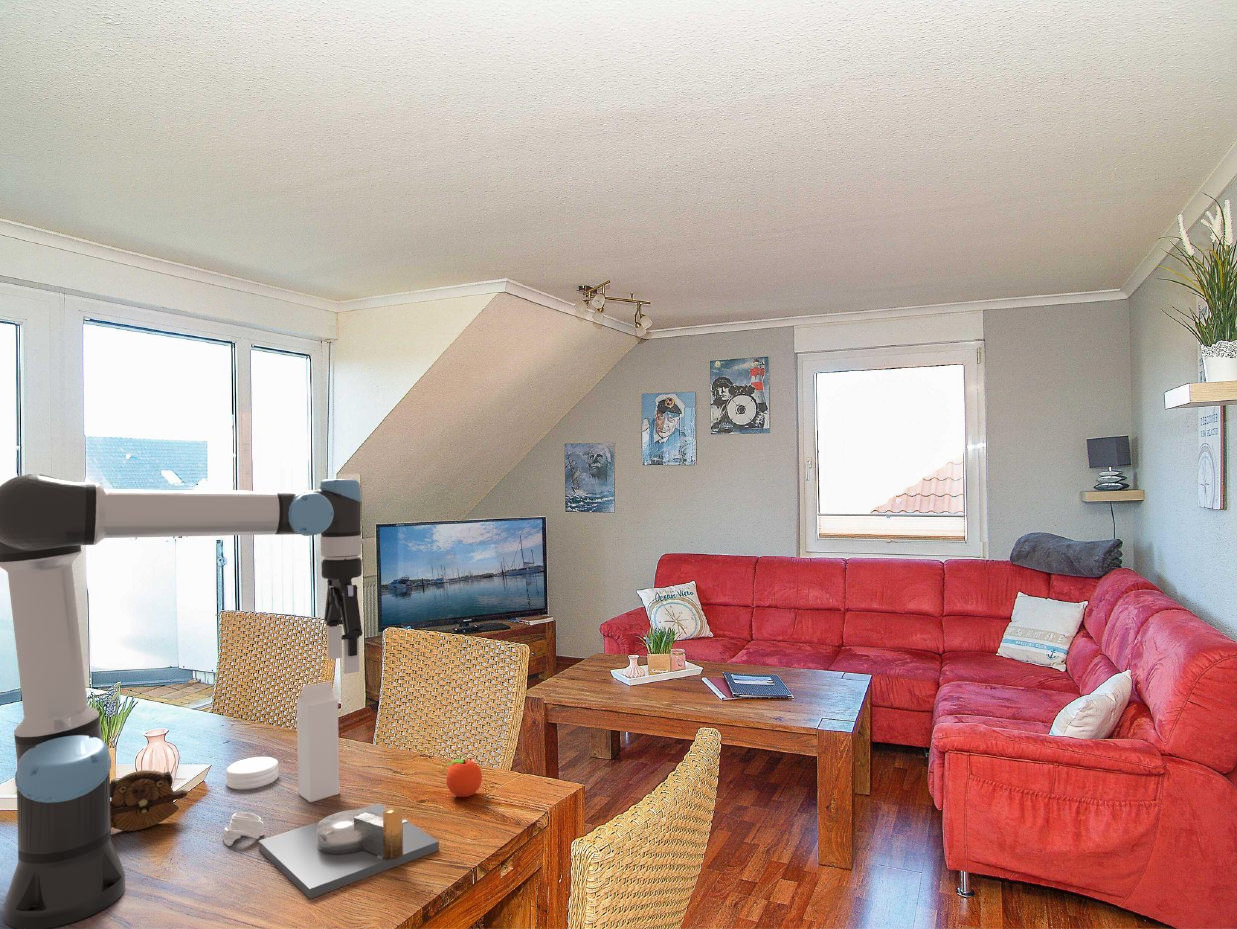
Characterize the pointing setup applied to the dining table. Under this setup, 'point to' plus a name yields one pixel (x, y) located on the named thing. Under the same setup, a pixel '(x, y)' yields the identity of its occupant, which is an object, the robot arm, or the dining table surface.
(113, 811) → the wooden carving
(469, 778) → the clementine
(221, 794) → the dining table surface
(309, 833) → the plate
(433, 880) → the dining table surface
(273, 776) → the round white tin
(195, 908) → the dining table surface
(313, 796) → the milk
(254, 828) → the whipped cream
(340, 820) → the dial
